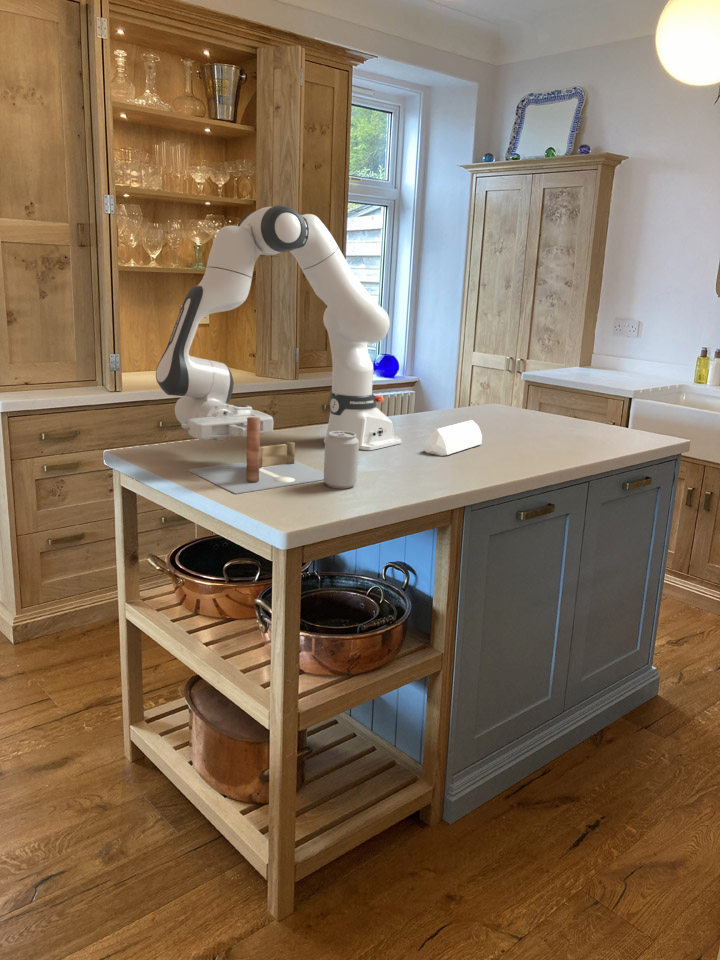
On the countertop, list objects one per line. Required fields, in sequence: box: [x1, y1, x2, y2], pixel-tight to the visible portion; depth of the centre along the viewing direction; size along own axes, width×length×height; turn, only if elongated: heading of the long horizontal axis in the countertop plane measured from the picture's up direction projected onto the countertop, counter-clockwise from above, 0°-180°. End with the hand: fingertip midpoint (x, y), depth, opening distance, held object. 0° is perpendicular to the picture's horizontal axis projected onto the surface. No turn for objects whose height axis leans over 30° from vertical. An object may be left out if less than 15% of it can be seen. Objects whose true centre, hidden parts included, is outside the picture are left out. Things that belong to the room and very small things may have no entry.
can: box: [323, 431, 360, 490], centre depth 172 cm, size 8×8×12 cm
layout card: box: [186, 460, 324, 495], centre depth 179 cm, size 27×22×1 cm
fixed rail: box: [259, 441, 296, 469], centre depth 186 cm, size 12×2×5 cm, turn 129°
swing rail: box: [246, 417, 261, 482], centre depth 175 cm, size 12×3×14 cm, turn 4°
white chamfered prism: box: [423, 419, 483, 457], centre depth 215 cm, size 7×7×24 cm
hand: (249, 432), depth 173 cm, fingers closed
